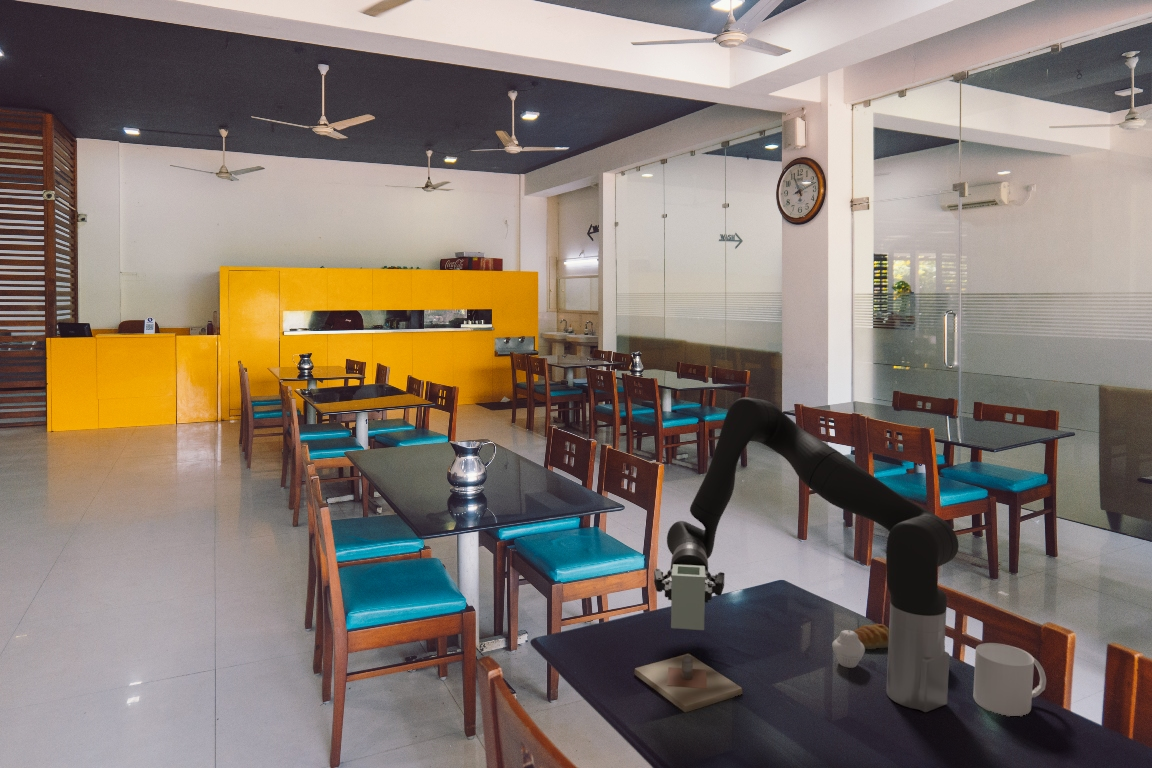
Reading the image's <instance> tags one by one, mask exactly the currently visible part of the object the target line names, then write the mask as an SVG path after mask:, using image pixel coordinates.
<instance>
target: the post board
mask: <svg viewBox="0 0 1152 768" xmlns="http://www.w3.org/2000/svg"><path fill="white" fill-rule="evenodd" d="M634 675H635V676H636V677H637V678H639V679H640V680H641V681H643V682H644V683H646V684H647V685H648V686H649V687H650V688H652V689H654V690H655V691H656V692H657V693H659V695H661V696H663V697H664V698H665V699H667V701H669V702H671V703H672V704H673V705H675V707H677V708H678V709H680V710H681V711H682V712H684V713H688V712H691V711H695V710H697V709H701V708H704V707H707V706H710V705H714V704H716V703H720V702H722V701H725V700H729V699H732V698H735V696H736V697H738V695H739V696H741V694H742V695H743V687H741V686H740V685H738V684H737V683H735V682H733V681H732V680H731V679H729V678H727V677H726V676H724V675H723V674H721V673H720V672H718V671H716V670H715V669H713V668H712V667H711V666H708V665H707V664H706V663H704V662H702V661H701V660H699V659H698V658H697V657H695V656H693V655H691V654H690V653H685V654H683V655H679V656H676V657H671V658H668V659H663V660H660V661H657V662H653V663H652V662H651V663H650V664H646V665H642V666H638V667H635V668H634Z"/></svg>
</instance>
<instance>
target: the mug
mask: <svg viewBox="0 0 1152 768" xmlns="http://www.w3.org/2000/svg"><path fill="white" fill-rule="evenodd" d="M974 655H975V657H974V674H973V675H974V676H973V679H974V680H973V695H972V696H973V700H974V701H975V703H976V704H977V705H978V706H980V708H982V709H984V710H986V711H988V712H990V711H992V712H991V713H993V712H994V713H993V714H996V713H998V714H997V715H999V714H1001V715H1000V716H1003V715H1006V716H1005V717H1010V716H1020V717H1023V715H1025V716H1026V714H1027V715H1028V714H1029V713H1030V712H1031V710H1032V700H1033V698H1036V697H1038V696H1039V695H1041V693H1043V692H1044V691H1045V690H1046V686H1047V677H1046V673H1045V670H1044V667H1043V666H1042V665H1041V663H1040V662H1039V661H1038V660H1037V659H1036V658H1035V657H1033V655H1032V654H1031V653H1030V652H1027V651H1026V650H1024V649H1022V648H1019V647H1015V646H1013V645H1008V644H1004V643H996V642H985V643H980V644H978V645H977V646H976V647H975V654H974ZM1034 667H1036V669H1037V671H1038V674H1039V683H1038V685H1037V686H1036V687H1034V689H1033V683H1034V671H1035V669H1034Z"/></svg>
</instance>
